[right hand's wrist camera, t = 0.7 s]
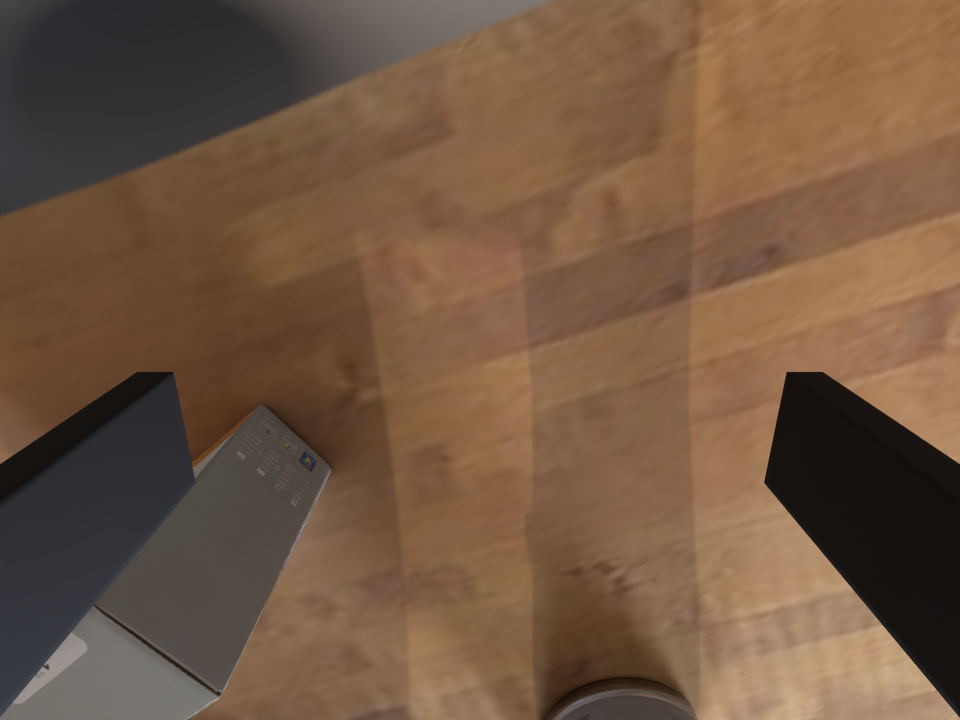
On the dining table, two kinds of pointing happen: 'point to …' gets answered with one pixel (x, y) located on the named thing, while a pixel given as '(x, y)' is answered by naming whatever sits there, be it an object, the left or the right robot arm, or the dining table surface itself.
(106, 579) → the right robot arm
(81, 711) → the hard drive box
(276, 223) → the dining table surface
